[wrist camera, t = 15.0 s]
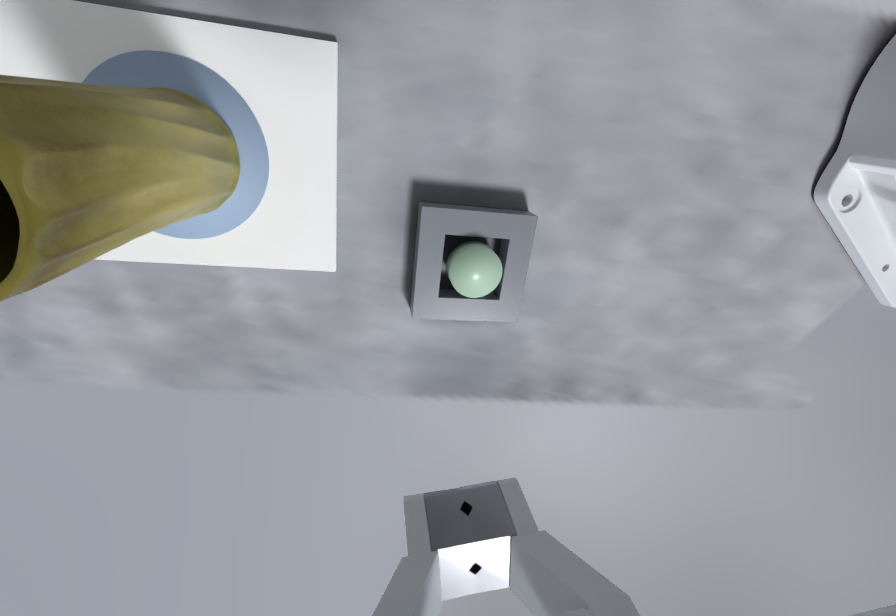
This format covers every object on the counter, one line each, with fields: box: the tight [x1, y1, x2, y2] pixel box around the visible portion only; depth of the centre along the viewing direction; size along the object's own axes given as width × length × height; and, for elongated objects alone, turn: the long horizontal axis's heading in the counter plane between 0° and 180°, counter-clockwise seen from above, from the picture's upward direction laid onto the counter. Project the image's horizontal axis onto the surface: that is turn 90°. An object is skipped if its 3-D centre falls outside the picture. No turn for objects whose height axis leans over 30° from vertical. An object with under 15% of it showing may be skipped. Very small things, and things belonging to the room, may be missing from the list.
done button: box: [446, 241, 502, 298], centre depth 25 cm, size 3×3×1 cm
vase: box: [0, 75, 240, 302], centre depth 15 cm, size 6×6×14 cm
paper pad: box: [0, 0, 338, 272], centre depth 21 cm, size 16×12×1 cm
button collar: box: [410, 202, 538, 322], centre depth 26 cm, size 7×7×2 cm
